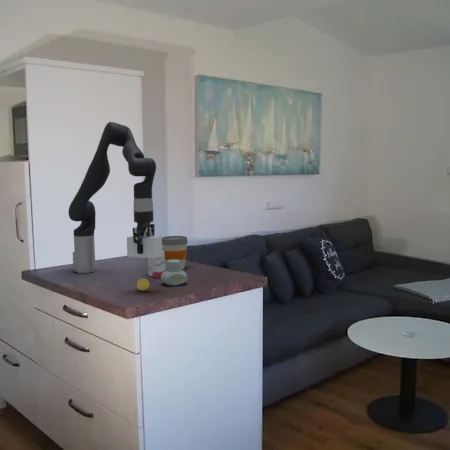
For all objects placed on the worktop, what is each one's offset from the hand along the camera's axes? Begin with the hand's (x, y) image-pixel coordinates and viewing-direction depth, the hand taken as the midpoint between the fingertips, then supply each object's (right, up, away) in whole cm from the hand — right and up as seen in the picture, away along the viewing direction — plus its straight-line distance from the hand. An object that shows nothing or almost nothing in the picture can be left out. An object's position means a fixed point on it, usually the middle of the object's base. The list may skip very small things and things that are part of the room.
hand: (144, 251), depth 199 cm
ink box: (+1, -13, +29) cm, 31 cm away
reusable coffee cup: (+7, -11, +45) cm, 47 cm away
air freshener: (+10, -14, +13) cm, 22 cm away
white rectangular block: (0, -2, 0) cm, 2 cm away
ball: (-1, -13, +2) cm, 13 cm away
